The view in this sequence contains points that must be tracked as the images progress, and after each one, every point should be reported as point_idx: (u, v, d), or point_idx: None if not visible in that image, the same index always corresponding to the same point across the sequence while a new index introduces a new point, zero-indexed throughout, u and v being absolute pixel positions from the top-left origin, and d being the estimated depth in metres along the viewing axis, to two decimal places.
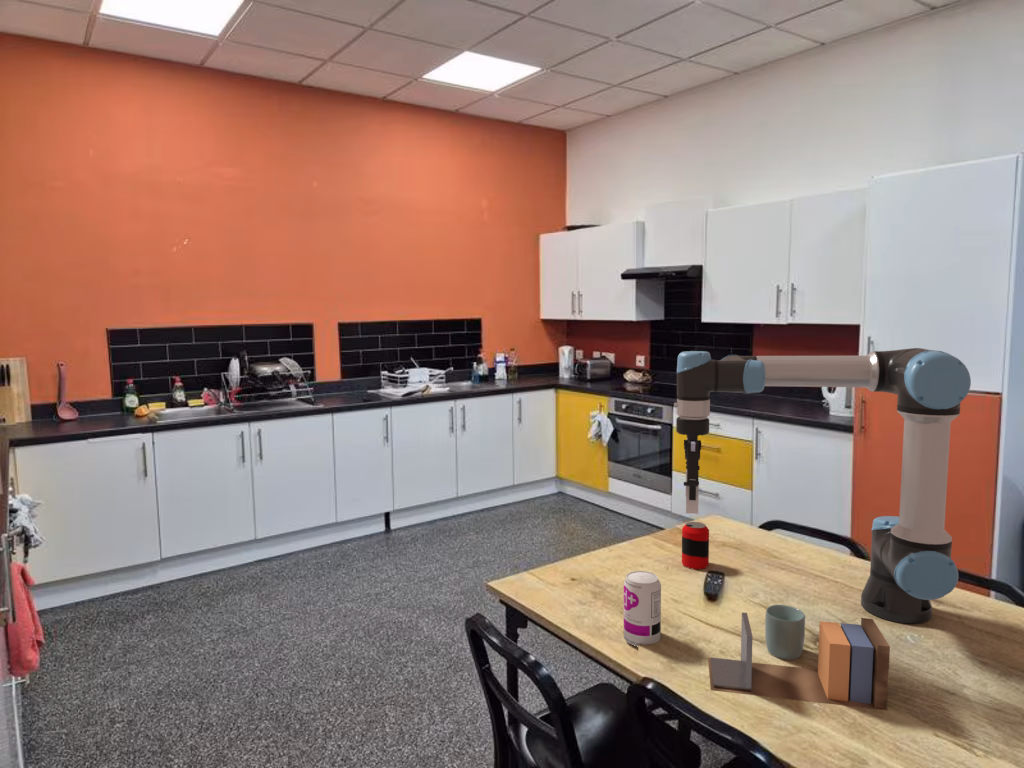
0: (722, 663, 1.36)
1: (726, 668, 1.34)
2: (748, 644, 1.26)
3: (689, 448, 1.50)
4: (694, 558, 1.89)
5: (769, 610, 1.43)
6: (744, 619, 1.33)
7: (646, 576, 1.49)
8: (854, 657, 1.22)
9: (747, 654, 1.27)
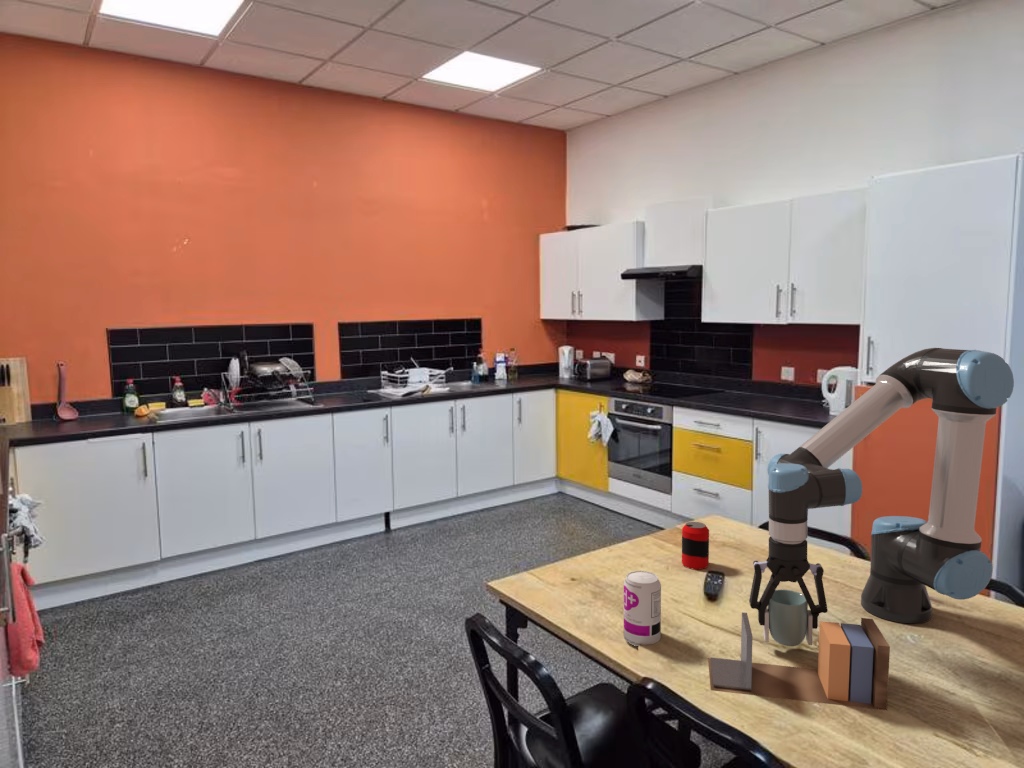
0: (722, 663, 1.36)
1: (726, 668, 1.34)
2: (748, 644, 1.26)
3: None
4: (694, 558, 1.89)
5: None
6: (744, 619, 1.33)
7: (646, 576, 1.49)
8: (854, 657, 1.22)
9: (747, 654, 1.27)
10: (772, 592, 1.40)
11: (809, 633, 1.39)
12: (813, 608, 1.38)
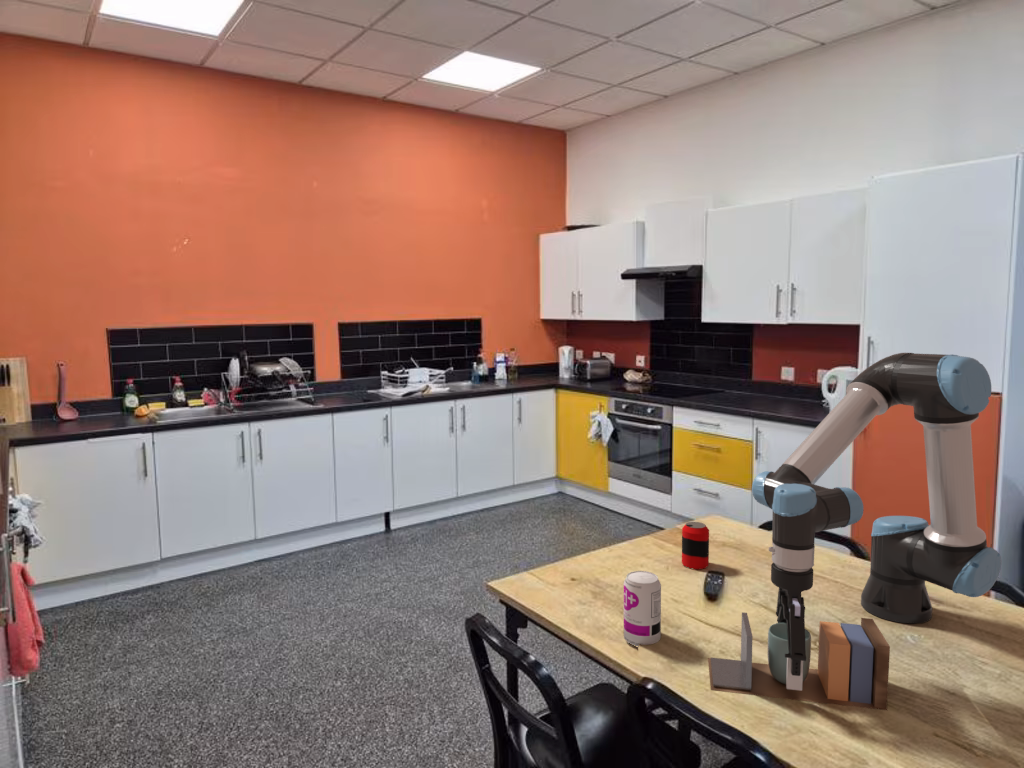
0: (722, 663, 1.36)
1: (726, 668, 1.34)
2: (748, 644, 1.26)
3: (793, 612, 1.22)
4: (694, 558, 1.89)
5: None
6: (744, 619, 1.33)
7: (646, 576, 1.49)
8: (854, 657, 1.22)
9: (747, 654, 1.27)
10: None
11: None
12: None
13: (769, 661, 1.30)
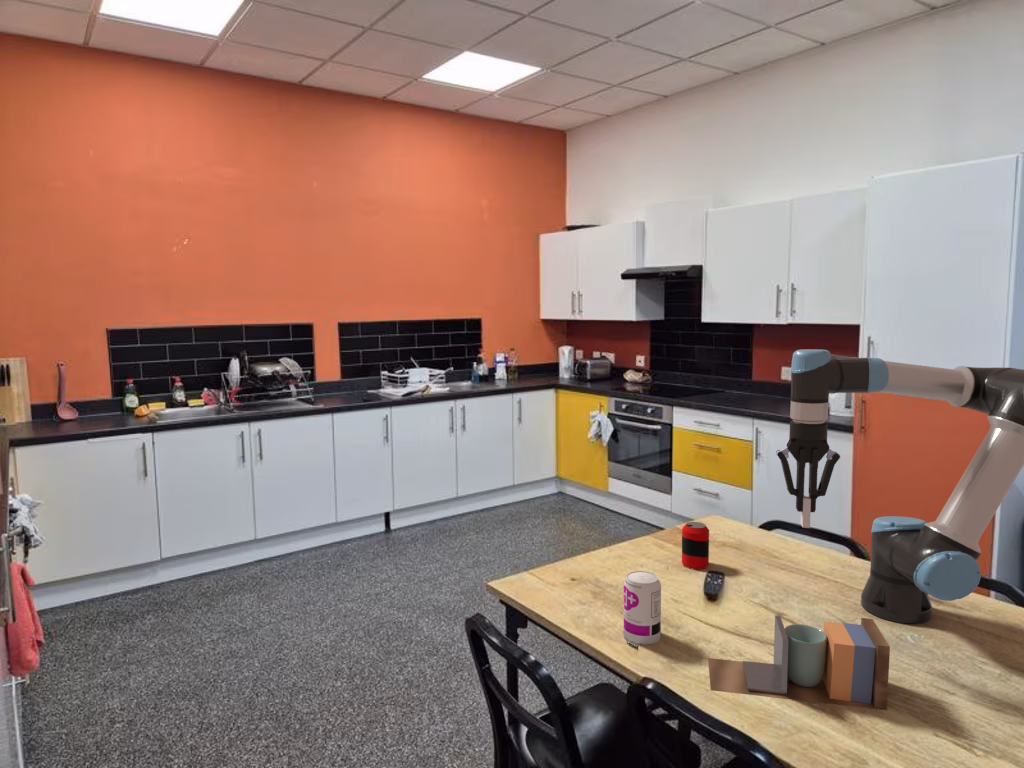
0: (755, 666, 1.35)
1: (759, 672, 1.33)
2: (784, 648, 1.25)
3: None
4: (694, 558, 1.89)
5: None
6: (778, 622, 1.31)
7: (646, 576, 1.49)
8: (856, 657, 1.22)
9: (783, 658, 1.25)
10: (803, 475, 1.44)
11: (807, 516, 1.45)
12: (814, 491, 1.44)
13: None
